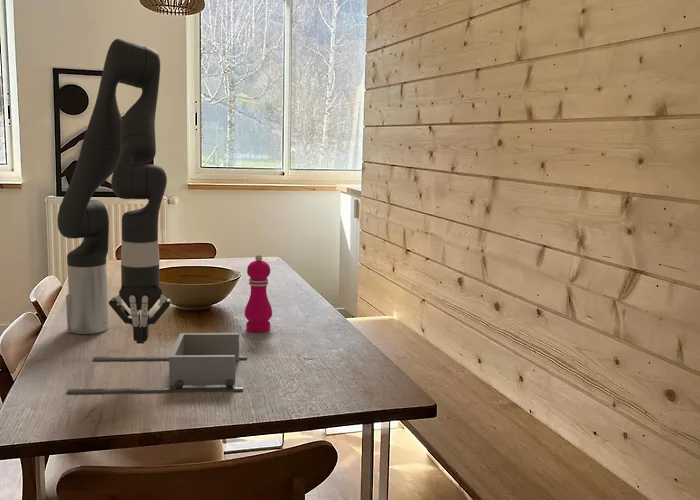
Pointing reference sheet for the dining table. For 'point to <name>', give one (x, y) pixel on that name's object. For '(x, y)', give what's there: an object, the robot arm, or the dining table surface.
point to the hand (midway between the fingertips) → (141, 342)
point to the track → (142, 390)
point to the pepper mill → (258, 297)
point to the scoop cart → (204, 359)
